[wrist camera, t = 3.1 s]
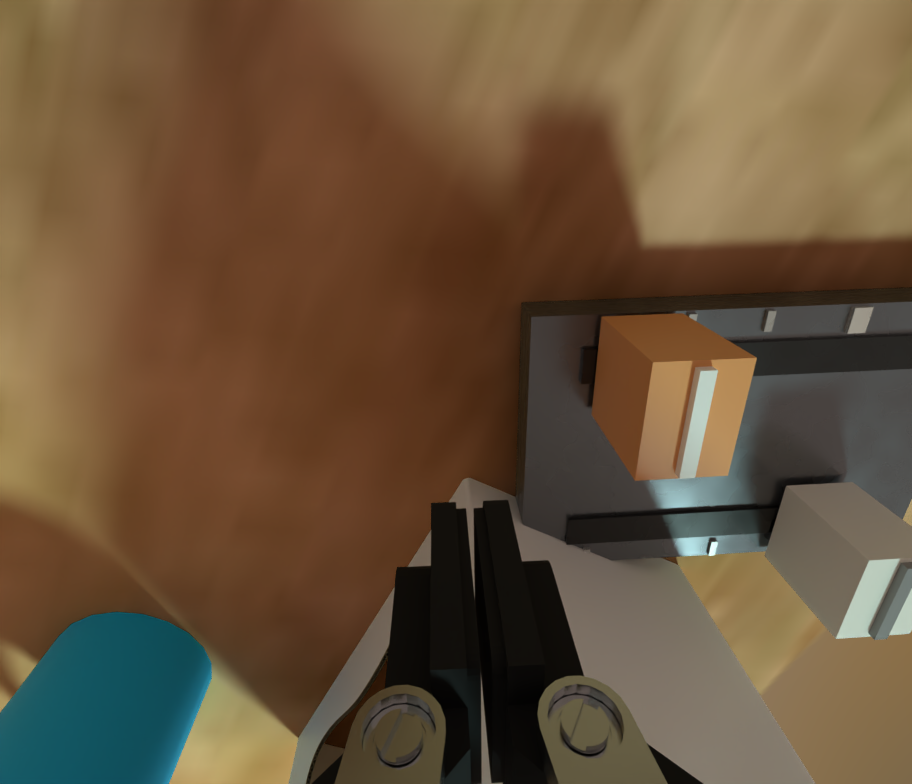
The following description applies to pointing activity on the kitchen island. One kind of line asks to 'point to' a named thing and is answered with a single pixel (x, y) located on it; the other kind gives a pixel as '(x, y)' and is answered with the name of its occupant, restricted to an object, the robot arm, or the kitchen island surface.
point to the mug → (105, 704)
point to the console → (761, 431)
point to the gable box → (609, 663)
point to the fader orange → (670, 395)
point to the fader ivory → (845, 559)
